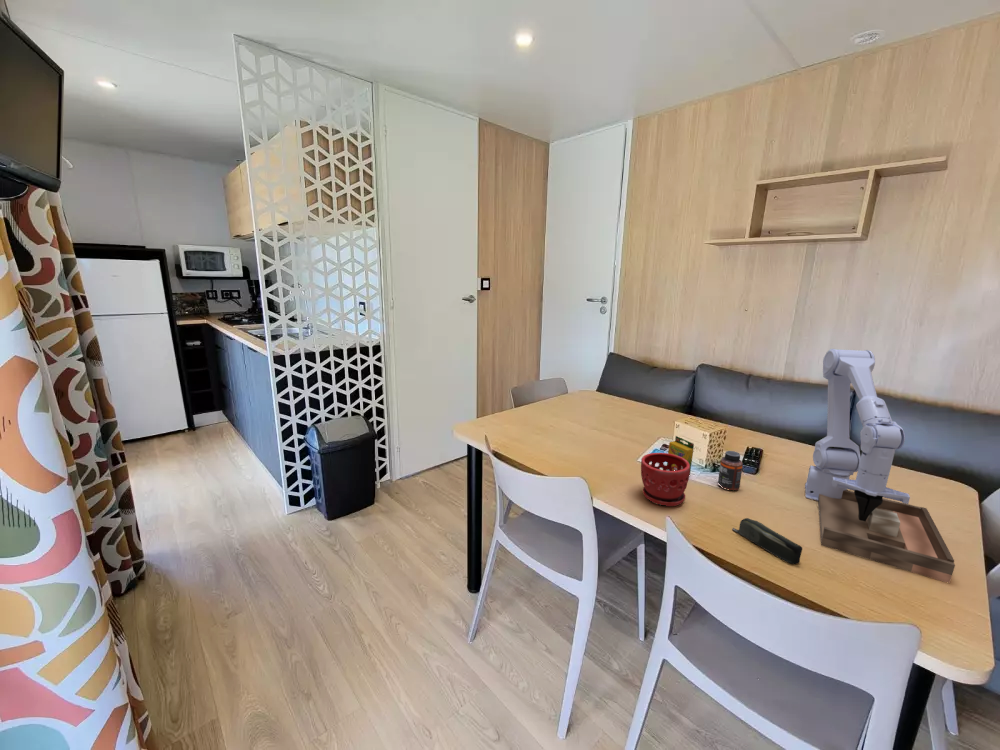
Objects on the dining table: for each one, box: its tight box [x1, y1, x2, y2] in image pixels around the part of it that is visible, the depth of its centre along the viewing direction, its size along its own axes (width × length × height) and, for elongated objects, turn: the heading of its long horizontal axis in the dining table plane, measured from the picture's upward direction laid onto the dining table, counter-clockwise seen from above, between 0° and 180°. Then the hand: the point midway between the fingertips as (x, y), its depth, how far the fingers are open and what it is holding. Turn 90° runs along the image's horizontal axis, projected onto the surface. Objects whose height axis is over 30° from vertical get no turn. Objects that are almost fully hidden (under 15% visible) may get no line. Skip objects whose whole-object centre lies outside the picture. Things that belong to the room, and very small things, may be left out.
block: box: [867, 508, 900, 537], centre depth 104 cm, size 5×5×4 cm
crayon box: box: [666, 435, 695, 472], centre depth 136 cm, size 7×3×12 cm, turn 27°
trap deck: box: [817, 489, 956, 584], centre depth 105 cm, size 22×27×5 cm
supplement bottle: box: [717, 450, 743, 491], centre depth 127 cm, size 6×6×11 cm
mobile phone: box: [732, 517, 803, 565], centre depth 100 cm, size 5×3×15 cm
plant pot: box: [640, 452, 691, 507], centre depth 120 cm, size 13×13×12 cm
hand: (861, 518), depth 106 cm, fingers closed
